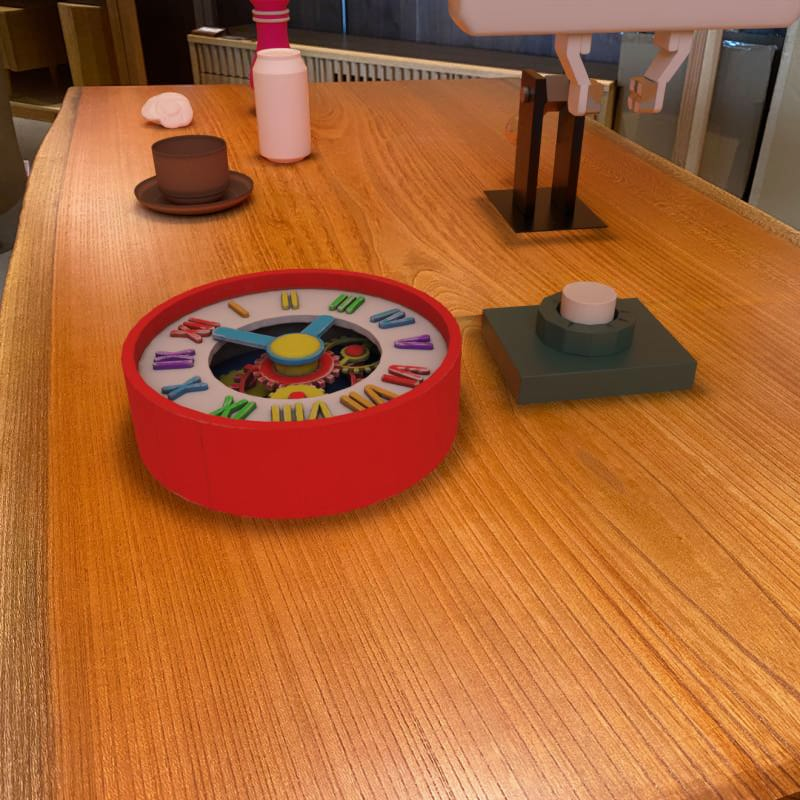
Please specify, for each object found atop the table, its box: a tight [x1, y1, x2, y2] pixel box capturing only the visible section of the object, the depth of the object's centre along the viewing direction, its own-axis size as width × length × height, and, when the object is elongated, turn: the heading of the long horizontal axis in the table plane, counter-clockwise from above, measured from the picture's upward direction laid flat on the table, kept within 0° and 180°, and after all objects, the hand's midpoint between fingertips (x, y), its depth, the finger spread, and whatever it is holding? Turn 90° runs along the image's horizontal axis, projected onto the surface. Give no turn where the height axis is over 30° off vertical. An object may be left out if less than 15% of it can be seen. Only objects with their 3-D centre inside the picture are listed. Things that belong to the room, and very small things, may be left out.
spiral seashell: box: [139, 91, 194, 130], centre depth 113 cm, size 7×5×4 cm
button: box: [560, 280, 618, 325], centre depth 57 cm, size 4×4×2 cm
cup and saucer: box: [133, 134, 254, 216], centre depth 85 cm, size 12×12×6 cm
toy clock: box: [120, 268, 463, 520], centre depth 52 cm, size 20×6×20 cm
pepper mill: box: [249, 0, 292, 91], centre depth 115 cm, size 7×7×20 cm
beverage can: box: [252, 48, 312, 164], centre depth 98 cm, size 6×6×12 cm
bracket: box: [483, 68, 609, 234], centre depth 80 cm, size 12×9×14 cm
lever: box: [504, 74, 570, 147], centre depth 82 cm, size 13×4×4 cm
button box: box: [480, 290, 699, 406], centre depth 58 cm, size 12×10×4 cm
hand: (613, 112), depth 50 cm, fingers closed
